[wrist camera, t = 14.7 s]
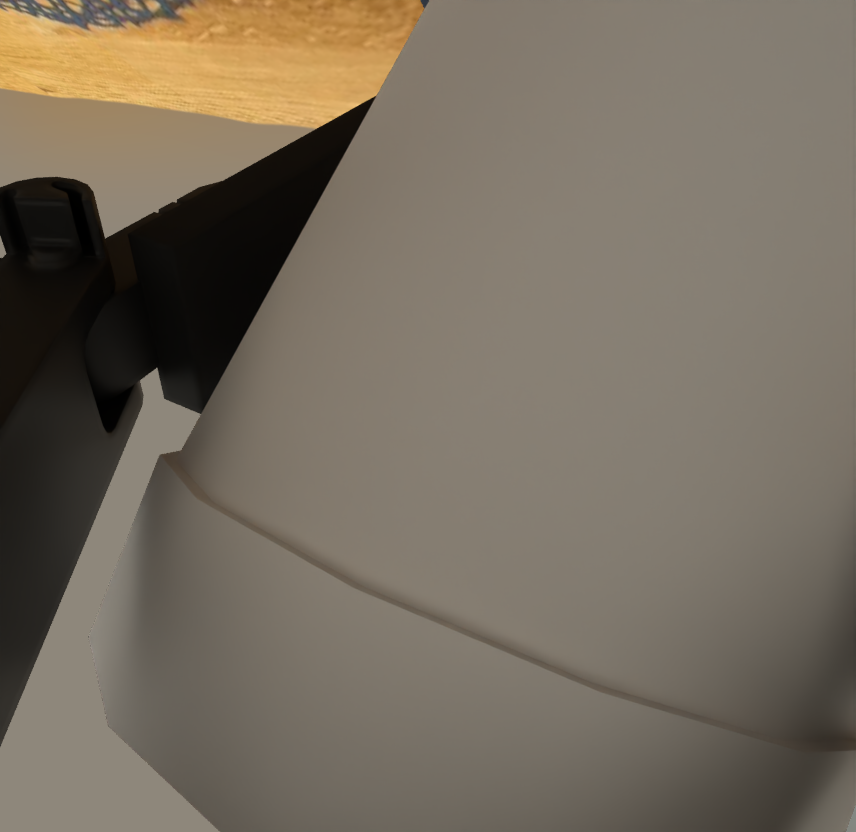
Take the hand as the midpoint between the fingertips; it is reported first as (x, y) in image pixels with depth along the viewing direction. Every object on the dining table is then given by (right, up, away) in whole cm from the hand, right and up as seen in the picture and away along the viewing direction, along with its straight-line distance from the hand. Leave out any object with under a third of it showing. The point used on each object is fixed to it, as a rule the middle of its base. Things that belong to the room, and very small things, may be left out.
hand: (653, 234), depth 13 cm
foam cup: (+1, +5, -2) cm, 6 cm away
